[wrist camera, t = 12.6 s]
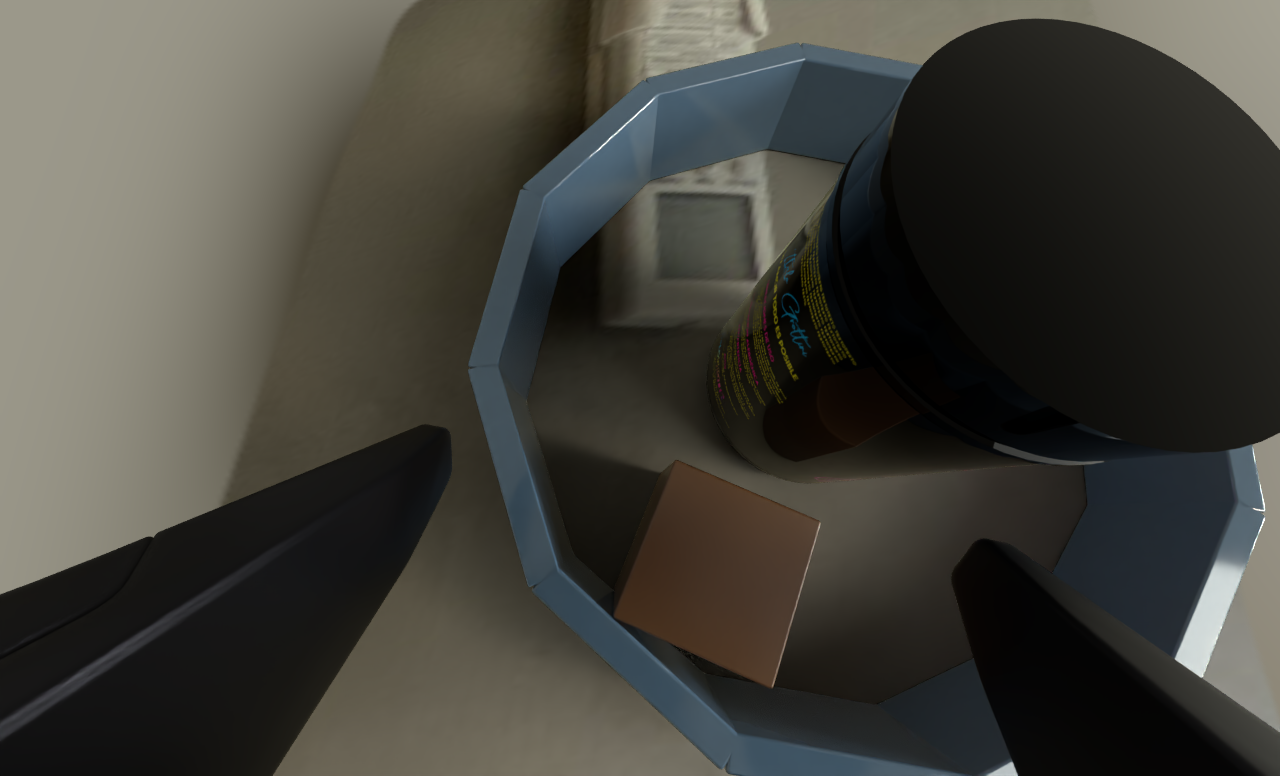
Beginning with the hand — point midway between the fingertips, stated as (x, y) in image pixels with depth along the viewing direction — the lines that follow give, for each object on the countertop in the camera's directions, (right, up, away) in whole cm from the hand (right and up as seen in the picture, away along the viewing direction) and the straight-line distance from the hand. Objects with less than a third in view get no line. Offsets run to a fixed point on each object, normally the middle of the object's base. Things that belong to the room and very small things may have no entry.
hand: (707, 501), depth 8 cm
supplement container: (+4, +2, +9) cm, 10 cm away
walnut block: (+1, -3, +7) cm, 8 cm away
